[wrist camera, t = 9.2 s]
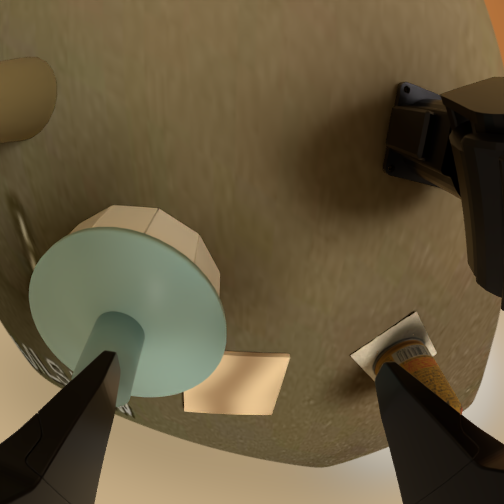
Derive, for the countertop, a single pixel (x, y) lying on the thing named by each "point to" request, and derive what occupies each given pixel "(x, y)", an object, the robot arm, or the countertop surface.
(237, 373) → the plate
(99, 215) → the bowl
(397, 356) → the condiment
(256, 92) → the countertop surface
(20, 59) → the pepper shaker
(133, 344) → the lid
